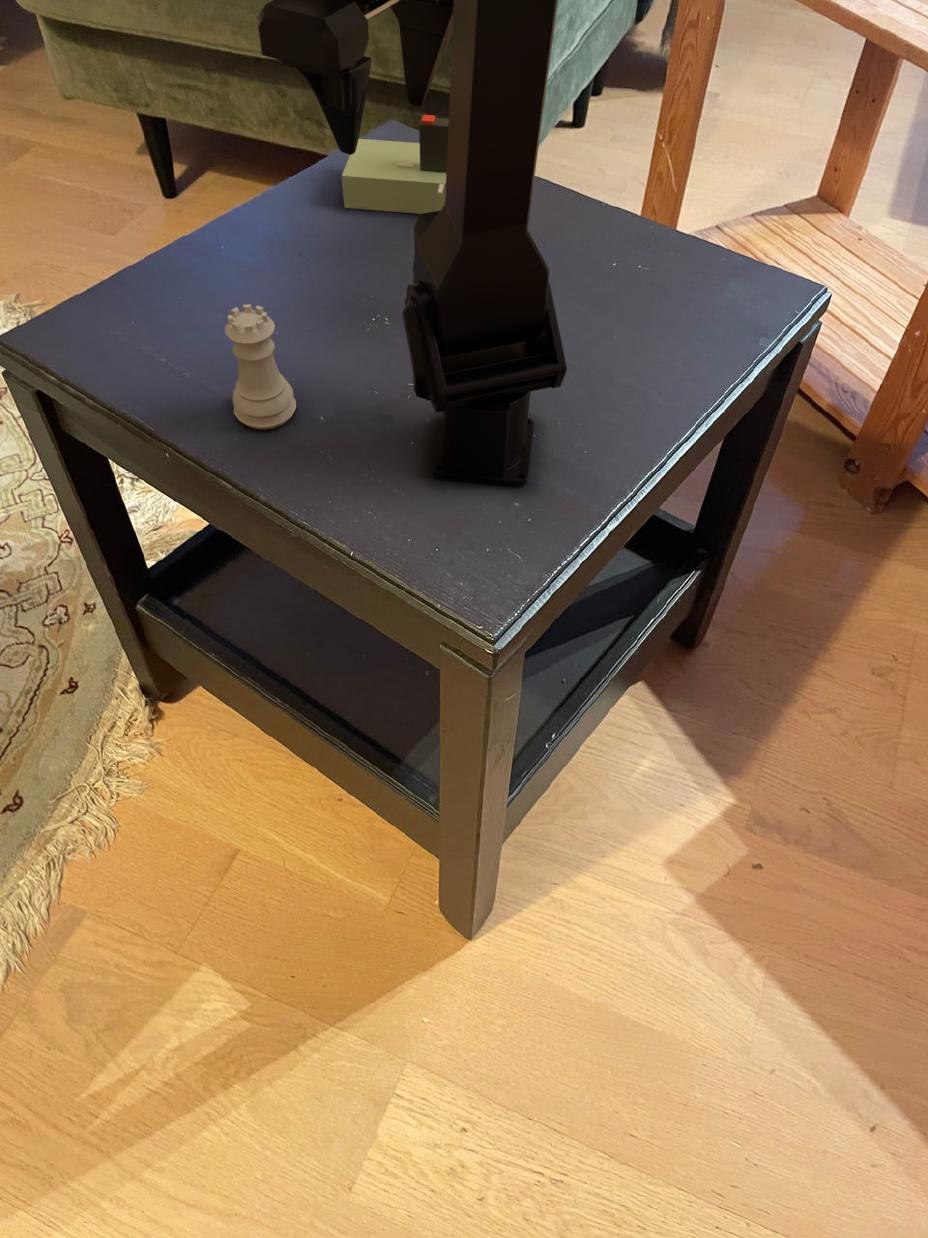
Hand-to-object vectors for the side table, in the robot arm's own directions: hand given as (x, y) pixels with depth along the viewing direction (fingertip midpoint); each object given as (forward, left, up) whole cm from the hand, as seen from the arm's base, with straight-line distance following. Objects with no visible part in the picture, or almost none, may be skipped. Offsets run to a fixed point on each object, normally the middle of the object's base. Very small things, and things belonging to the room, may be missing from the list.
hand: (383, 127), depth 69 cm
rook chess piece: (-19, +6, -12) cm, 23 cm away
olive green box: (+12, -1, -12) cm, 17 cm away
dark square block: (+12, -3, -9) cm, 15 cm away
